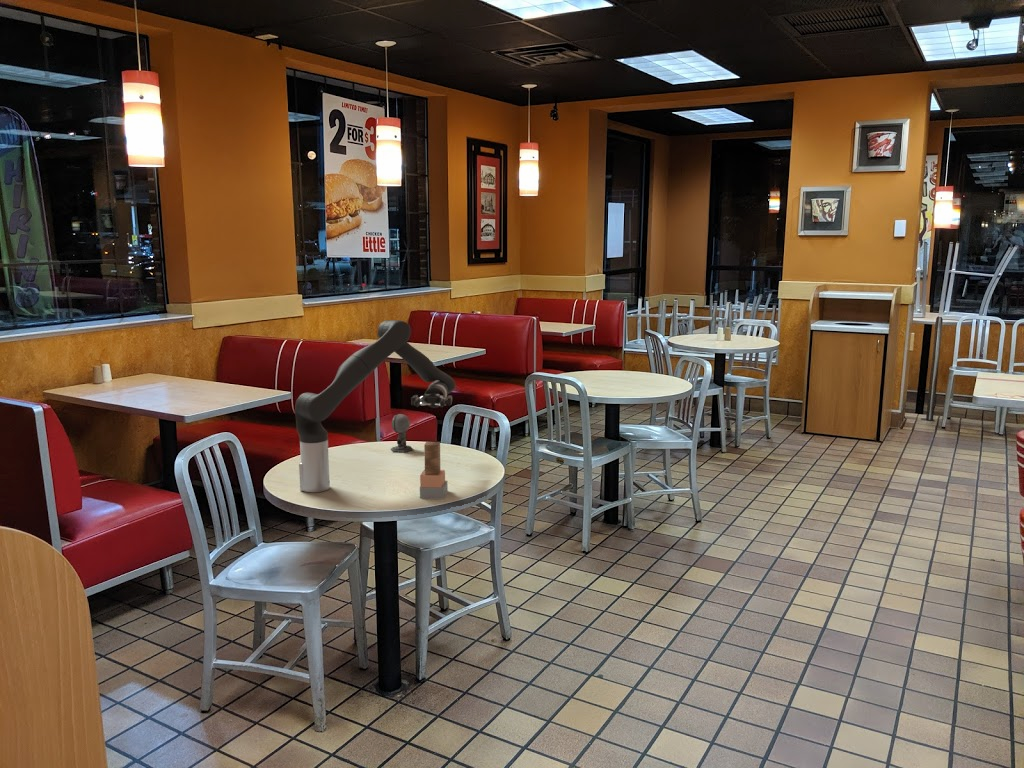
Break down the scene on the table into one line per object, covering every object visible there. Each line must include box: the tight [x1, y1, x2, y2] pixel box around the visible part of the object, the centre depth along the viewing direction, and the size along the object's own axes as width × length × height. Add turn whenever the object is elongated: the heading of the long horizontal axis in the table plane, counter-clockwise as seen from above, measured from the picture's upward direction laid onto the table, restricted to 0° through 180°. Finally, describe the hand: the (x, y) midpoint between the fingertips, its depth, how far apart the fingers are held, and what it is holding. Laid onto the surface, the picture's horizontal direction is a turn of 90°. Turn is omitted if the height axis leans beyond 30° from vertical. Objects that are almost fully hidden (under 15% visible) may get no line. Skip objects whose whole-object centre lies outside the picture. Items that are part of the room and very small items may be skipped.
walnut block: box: [424, 441, 441, 474], centre depth 256 cm, size 5×5×10 cm
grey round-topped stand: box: [390, 413, 415, 454], centre depth 314 cm, size 9×10×15 cm
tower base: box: [419, 480, 449, 500], centre depth 259 cm, size 8×8×4 cm
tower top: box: [419, 468, 446, 488], centre depth 258 cm, size 7×7×4 cm
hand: (428, 404), depth 268 cm, fingers open, 8 cm apart
